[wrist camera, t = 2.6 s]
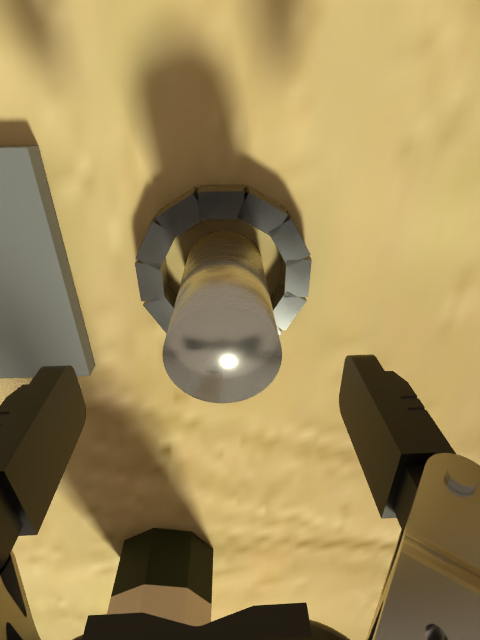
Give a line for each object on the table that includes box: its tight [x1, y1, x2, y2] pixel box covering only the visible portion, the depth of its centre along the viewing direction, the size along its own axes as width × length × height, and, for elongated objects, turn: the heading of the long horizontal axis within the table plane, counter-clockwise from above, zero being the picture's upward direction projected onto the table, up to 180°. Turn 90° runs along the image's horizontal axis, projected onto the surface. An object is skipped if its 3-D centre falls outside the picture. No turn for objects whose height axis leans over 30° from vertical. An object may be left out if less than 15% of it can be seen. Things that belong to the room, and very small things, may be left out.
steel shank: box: [163, 231, 282, 403], centre depth 16 cm, size 4×4×8 cm
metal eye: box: [135, 185, 311, 335], centre depth 19 cm, size 8×8×2 cm
